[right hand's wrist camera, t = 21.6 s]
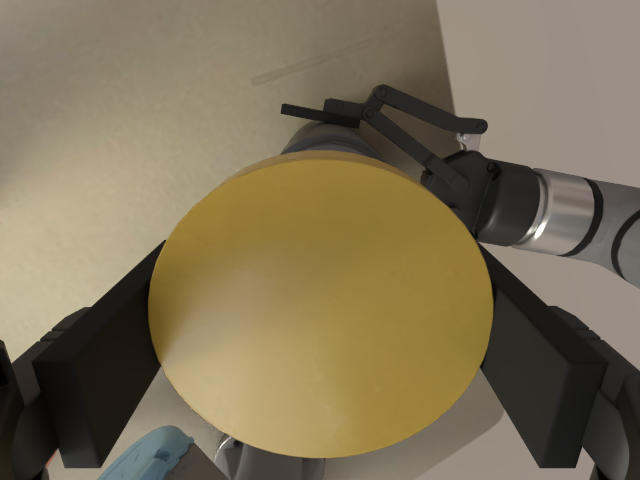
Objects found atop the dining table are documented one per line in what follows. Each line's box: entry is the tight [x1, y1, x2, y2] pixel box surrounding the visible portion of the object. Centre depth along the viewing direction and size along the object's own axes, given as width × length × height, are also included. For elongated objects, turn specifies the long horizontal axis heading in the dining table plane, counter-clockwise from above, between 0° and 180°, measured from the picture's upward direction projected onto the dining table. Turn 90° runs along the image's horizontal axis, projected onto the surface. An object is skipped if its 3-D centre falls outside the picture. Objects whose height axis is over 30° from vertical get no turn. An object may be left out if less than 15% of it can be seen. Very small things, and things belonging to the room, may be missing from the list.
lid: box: [148, 150, 494, 458], centre depth 11 cm, size 9×9×2 cm
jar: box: [280, 121, 386, 163], centre depth 32 cm, size 8×8×19 cm
